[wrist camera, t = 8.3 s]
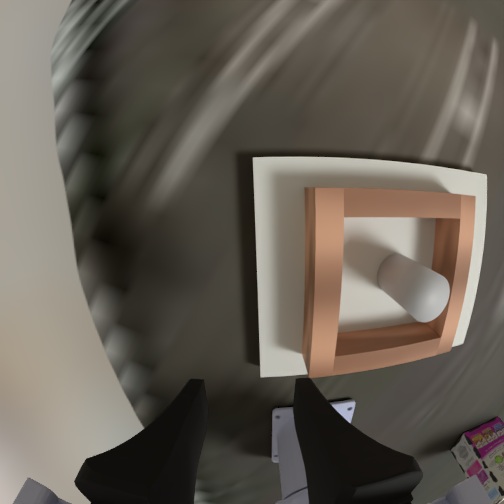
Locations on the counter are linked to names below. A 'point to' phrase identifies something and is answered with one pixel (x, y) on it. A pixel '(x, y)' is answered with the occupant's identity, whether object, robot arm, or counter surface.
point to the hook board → (353, 251)
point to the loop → (330, 277)
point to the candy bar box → (484, 456)
